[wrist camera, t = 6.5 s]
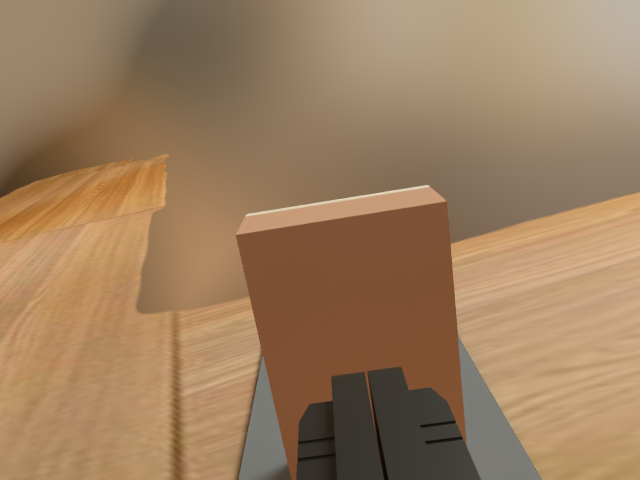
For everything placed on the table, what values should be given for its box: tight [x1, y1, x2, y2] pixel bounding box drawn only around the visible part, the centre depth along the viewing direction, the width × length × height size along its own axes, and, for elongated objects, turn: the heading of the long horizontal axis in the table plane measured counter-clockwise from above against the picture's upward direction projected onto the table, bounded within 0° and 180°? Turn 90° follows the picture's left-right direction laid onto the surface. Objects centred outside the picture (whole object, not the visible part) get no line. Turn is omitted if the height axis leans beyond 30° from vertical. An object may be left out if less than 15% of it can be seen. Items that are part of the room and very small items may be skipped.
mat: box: [238, 337, 542, 480], centre depth 33 cm, size 16×23×1 cm
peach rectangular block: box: [236, 185, 467, 480], centre depth 24 cm, size 9×4×15 cm, turn 91°
